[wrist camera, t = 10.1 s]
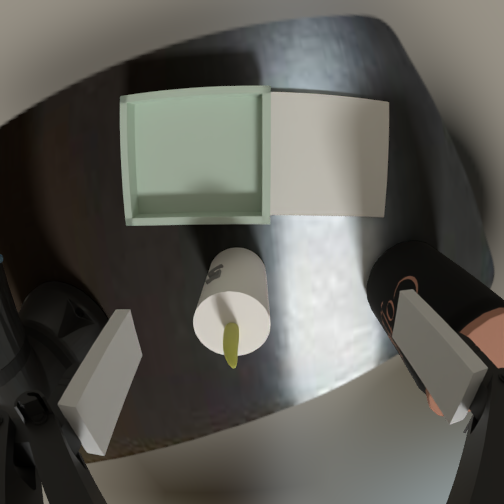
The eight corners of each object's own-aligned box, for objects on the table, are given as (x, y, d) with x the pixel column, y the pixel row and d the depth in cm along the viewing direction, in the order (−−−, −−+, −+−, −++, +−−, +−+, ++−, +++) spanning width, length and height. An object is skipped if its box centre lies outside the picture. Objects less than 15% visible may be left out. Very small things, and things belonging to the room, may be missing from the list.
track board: (144, 215, 33) (142, 216, 33) (139, 99, 29) (137, 99, 28) (382, 216, 33) (383, 217, 32) (387, 102, 29) (389, 102, 28)
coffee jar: (368, 237, 34) (453, 321, 17) (444, 237, 34) (543, 303, 17) (358, 320, 37) (412, 429, 20) (430, 313, 37) (501, 401, 20)
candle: (244, 234, 34) (238, 303, 20) (276, 282, 36) (289, 370, 21) (196, 264, 35) (162, 344, 21) (229, 308, 37) (217, 401, 23)
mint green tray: (140, 215, 32) (126, 225, 28) (136, 101, 28) (120, 96, 24) (267, 213, 32) (270, 224, 28) (268, 93, 28) (270, 85, 24)
